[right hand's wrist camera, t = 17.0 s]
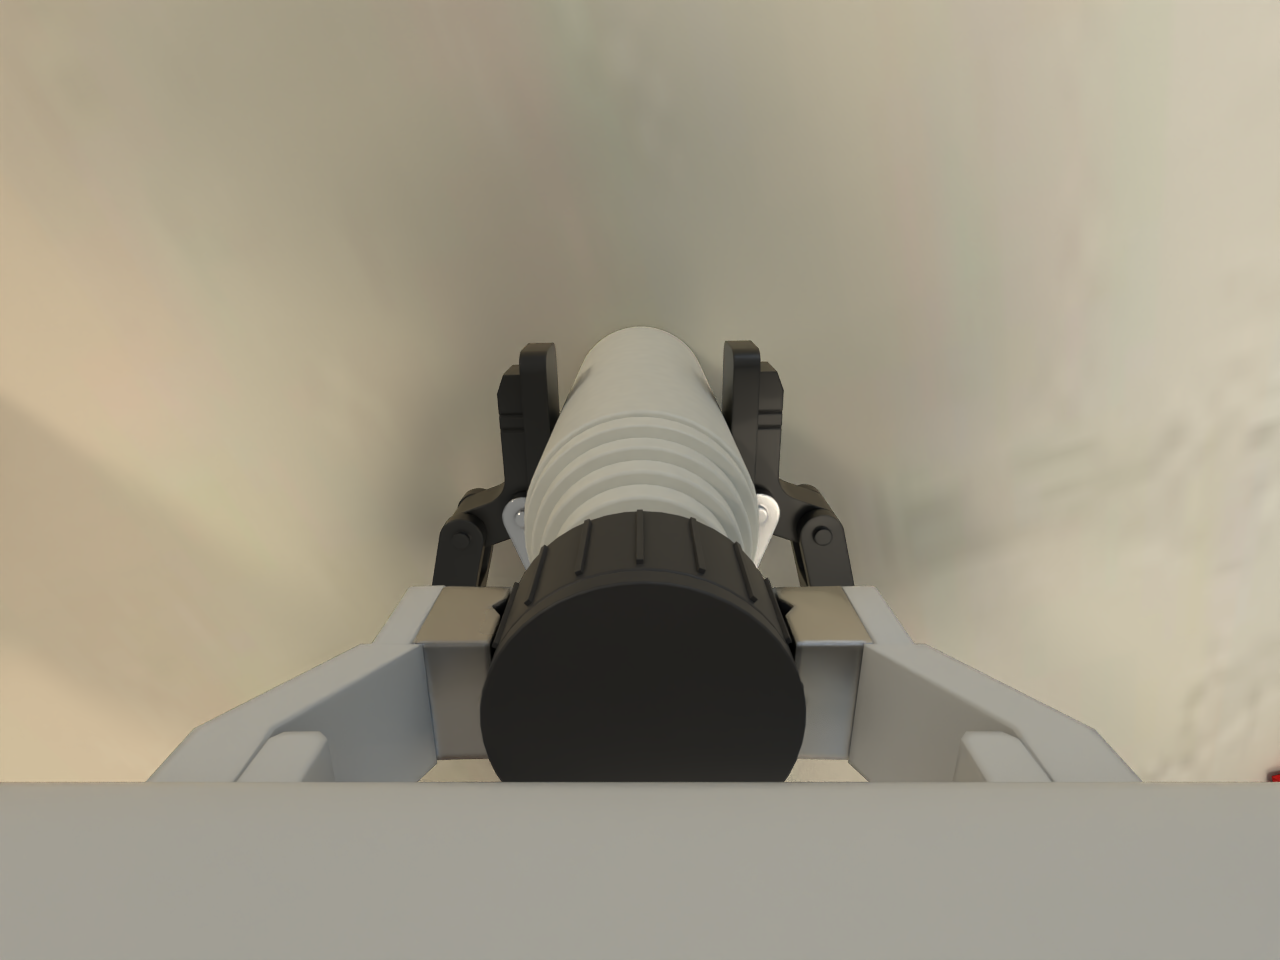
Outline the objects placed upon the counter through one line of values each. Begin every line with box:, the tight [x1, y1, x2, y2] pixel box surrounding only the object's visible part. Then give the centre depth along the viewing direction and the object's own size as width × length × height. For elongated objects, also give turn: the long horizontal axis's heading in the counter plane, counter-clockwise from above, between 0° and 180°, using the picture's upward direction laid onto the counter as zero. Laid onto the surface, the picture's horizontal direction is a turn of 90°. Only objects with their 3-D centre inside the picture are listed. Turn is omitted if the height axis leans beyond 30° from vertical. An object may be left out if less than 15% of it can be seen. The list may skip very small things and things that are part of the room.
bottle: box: [524, 326, 759, 564], centre depth 17 cm, size 5×5×18 cm
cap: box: [480, 509, 806, 782], centre depth 9 cm, size 4×4×2 cm
